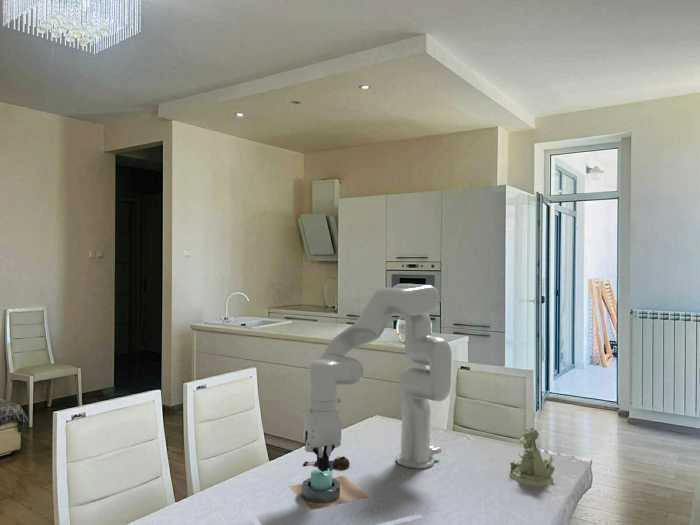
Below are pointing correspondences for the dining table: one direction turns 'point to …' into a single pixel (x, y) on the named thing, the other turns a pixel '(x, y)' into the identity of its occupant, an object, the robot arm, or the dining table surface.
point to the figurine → (532, 463)
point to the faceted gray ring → (320, 492)
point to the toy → (333, 463)
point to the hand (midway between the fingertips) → (322, 469)
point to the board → (346, 493)
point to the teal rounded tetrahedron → (321, 480)
